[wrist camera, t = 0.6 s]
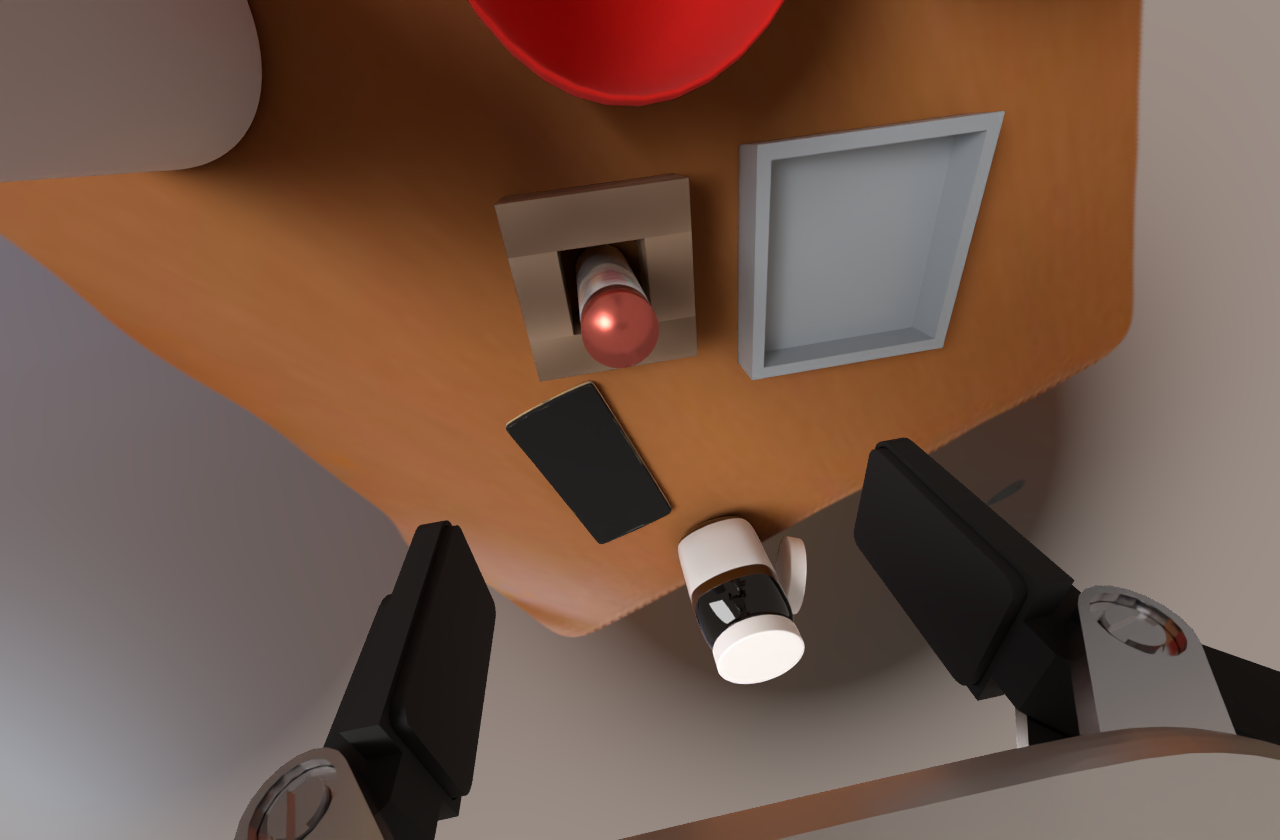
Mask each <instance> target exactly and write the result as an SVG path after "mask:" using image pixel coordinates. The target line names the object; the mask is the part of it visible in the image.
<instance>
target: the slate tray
mask: <svg viewBox="0 0 1280 840" xmlns="http://www.w3.org/2000/svg"><path fill="white" fill-rule="evenodd" d="M1004 113H1005V111H998V112H984V113H970V114H960V115H953V116H945V117H938V118H931V119H924V120H916V121H909V122H902V123H894V124H887V125H880V126H872V127H865V128H858V129H850V130H843V131H836V132H828V133H821V134H814V135H806V136H799V137H792V138H784V139H777V140H770V141H763V142H755V143H748V144H741V145H739V242H738V363H739V364H740V365H741V367H742V368H743V369H744V370H745V372H746V373H747V374H748V375H749V377H750V378H751V379H752V380H756V379H761V378H767V377H773V376H779V375H785V374H791V373H797V372H802V371H808V370H814V369H820V368H826V367H832V366H838V365H844V364H849V363H855V362H861V361H867V360H873V359H879V358H885V357H891V356H896V355H902V354H908V353H914V352H920V351H926V350H932V349H937V348H943V344H944V341H945V337H946V333H947V329H948V325H949V322H950V318H951V314H952V310H953V306H954V303H955V299H956V295H957V291H958V288H959V284H960V280H961V276H962V272H963V269H964V265H965V261H966V257H967V254H968V250H969V246H970V242H971V238H972V235H973V231H974V227H975V223H976V219H977V216H978V212H979V208H980V204H981V201H982V197H983V193H984V189H985V185H986V182H987V178H988V174H989V170H990V166H991V163H992V159H993V155H994V151H995V148H996V144H997V140H998V136H999V132H1000V129H1001V125H1002V121H1003V117H1004Z"/></svg>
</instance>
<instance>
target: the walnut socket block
mask: <svg viewBox="0 0 1280 840" xmlns="http://www.w3.org/2000/svg"><path fill="white" fill-rule="evenodd" d="M494 207H495V211H496V214H497V218H498V222H499V226H500V230H501V234H502V238H503V241H504V245H505V249H506V253H507V257H508V261H509V265H510V268H511V272H512V276H513V280H514V284H515V288H516V291H517V295H518V299H519V303H520V307H521V311H522V315H523V318H524V322H525V326H526V330H527V334H528V338H529V342H530V345H531V349H532V353H533V357H534V361H535V365H536V369H537V372H538V376H539V380H540V381H546V380H552V379H558V378H564V377H571V376H577V375H583V374H589V373H595V372H601V371H607V370H613V369H619V368H612V367H608V366H605V365H603V364H601V363H599V362H597V361H596V360H595V359H594V358H592V357H591V356H590V354H589V353H588V352H587V350H586V348H585V346H584V344H583V340H582V333H581V322H580V313H575V314H572V309H571V304H570V299H569V294H568V289H567V284H566V279H565V274H564V269H563V264H562V259H561V254H560V251H562V250H569V249H576V248H583V247H589V246H596V245H603V244H610V243H616V242H623V241H630V240H636V242H637V251H638V260H639V269H640V278H641V287H642V290H643V292H644V294H645V296H646V297H647V299H648V301H649V303H650V305H651V307H652V309H653V310H654V312H655V314H656V316H657V319H658V323H659V336H658V340H657V343H656V346H655V347H654V349H653V351H652V352H651V353H650V355H649V356H648V357H647V358H645V359H644V360H643V361H641V362H640V363H638V364H636V365H633V366H637V365H643V364H649V363H655V362H661V361H667V360H673V359H679V358H685V357H691V356H697V335H696V314H695V294H694V273H693V252H692V231H691V211H690V190H689V178H688V177H684V176H680V175H677V174H665V175H658V176H651V177H644V178H637V179H630V180H622V181H615V182H608V183H601V184H594V185H587V186H579V187H572V188H565V189H558V190H551V191H544V192H536V193H529V194H522V195H515V196H508V197H503V198H502V199H500V200H499V201H498V202H497V203H496V204H495V205H494Z"/></svg>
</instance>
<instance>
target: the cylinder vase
mask: <svg viewBox="0 0 1280 840" xmlns="http://www.w3.org/2000/svg"><path fill="white" fill-rule="evenodd" d="M261 85H262V62H261V52H260V46H259V40H258V35H257V31H256V27H255V23H254V20H253V17H252V14H251V10H250V8H249V5H248V2H247V0H0V182H9V181H24V180H38V179H53V178H67V177H82V176H96V175H111V174H125V173H140V172H154V171H169V170H181V169H188V168H193V167H197V166H200V165H203V164H206V163H209V162H211V161H213V160H215V159H217V158H219V157H221V156H222V155H224V154H225V153H227V152H228V151H229V150H231V149H232V148H233V147H234V146H235V145H236V144H237V143H238V142H239V141H240V140H241V139H242V137H243V136H244V135H245V133H246V132H247V130H248V129H249V127H250V125H251V123H252V121H253V119H254V116H255V114H256V111H257V107H258V104H259V99H260V94H261Z"/></svg>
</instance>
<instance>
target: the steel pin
mask: <svg viewBox="0 0 1280 840" xmlns="http://www.w3.org/2000/svg"><path fill="white" fill-rule="evenodd" d="M576 281H577V291H578V301H579V312H580V322H581V333H582V340H583V344H584V346H585V348H586V350H587V352H588V353H589V354H590V356H591V357H592V358H594V359H595V360H596V361H597V362H599V363H601V364H603V365H605V366H608V367H612V368H626V367H631V366H633V365H636V364H638V363H640V362H641V361H643V360H644V359H645V358H647V357H648V356H649V355H650V353H651V352H652V351H653V349H654V347H655V346H656V343H657V340H658V336H659V323H658V319H657V316H656V314H655V312H654V310H653V309H652V307H651V305H650V303H649V301H648V299H647V297H646V296H645V294H644V292H643V290H642V288H641V286H640V284H639V283H638V281H637V279H636V277H635V275H634V273H633V271H632V270H631V268H630V266H629V264H628V262H627V260H626V258H625V257H624V255H623V254H622V253H621V252H620V251H619V250H618V249H616V248H615V247H613V246H610V245H607V244H603V245H596V246H591V247H589V248H587V249H586V250H585V251H584V252H583V253H582V254H581V255H580V257H579V259H578V261H577V264H576Z"/></svg>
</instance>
